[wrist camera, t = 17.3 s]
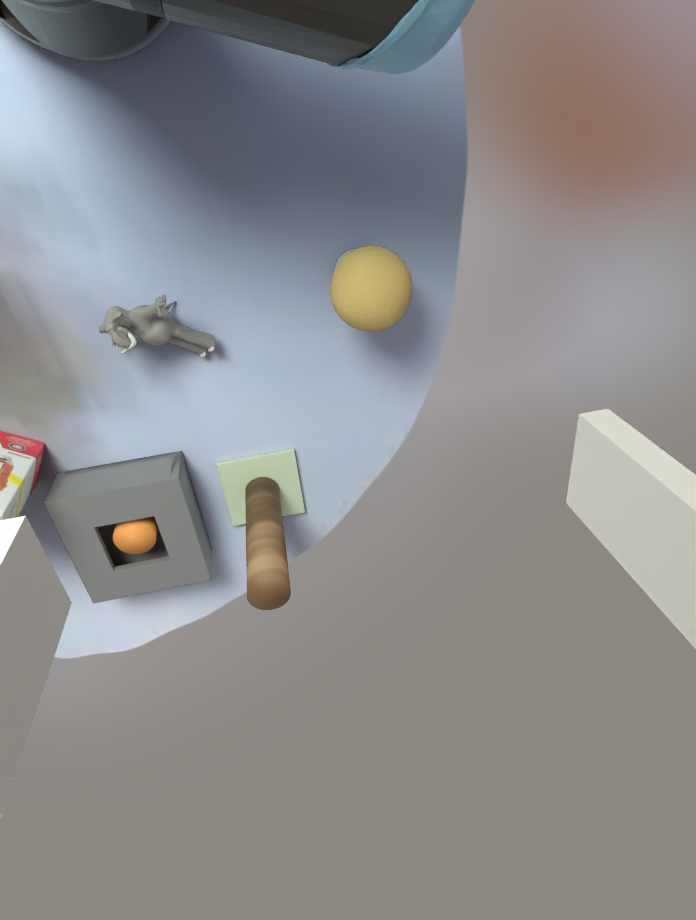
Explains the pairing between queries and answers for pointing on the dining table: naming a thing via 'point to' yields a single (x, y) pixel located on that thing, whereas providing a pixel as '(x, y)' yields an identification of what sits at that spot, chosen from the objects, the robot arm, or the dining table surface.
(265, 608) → the walnut dowel
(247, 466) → the mat
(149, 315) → the elephant figurine
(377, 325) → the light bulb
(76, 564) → the grey square holder
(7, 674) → the robot arm
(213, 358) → the dining table surface
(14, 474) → the ink box
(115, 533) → the button
